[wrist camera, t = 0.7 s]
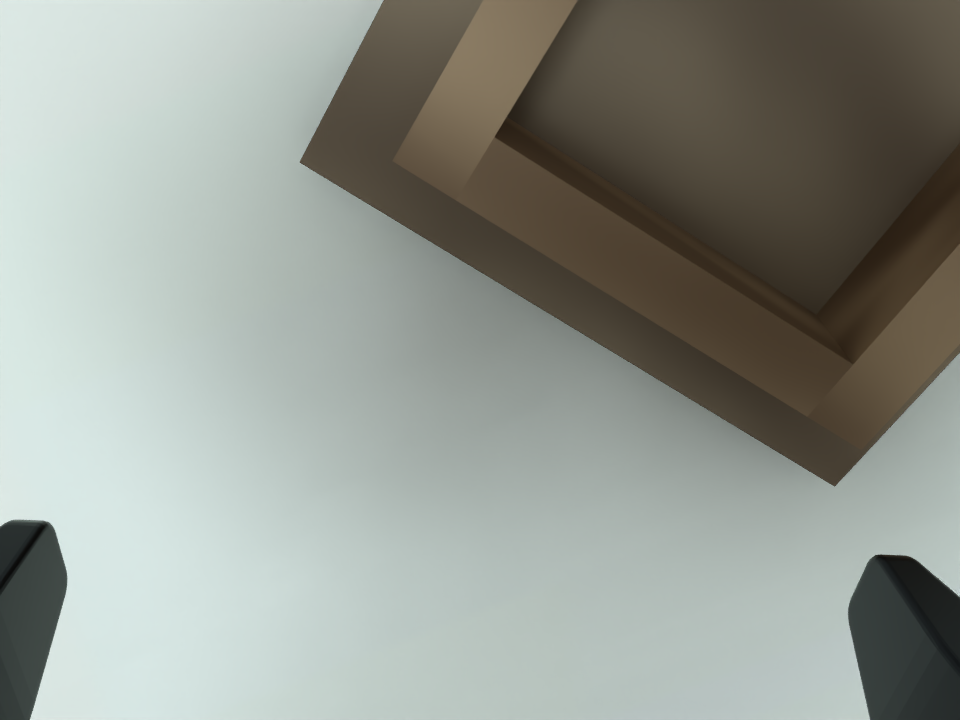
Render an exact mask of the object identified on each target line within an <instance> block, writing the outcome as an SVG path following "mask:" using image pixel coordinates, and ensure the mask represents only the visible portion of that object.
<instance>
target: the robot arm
mask: <svg viewBox="0 0 960 720" xmlns="http://www.w3.org/2000/svg"><path fill="white" fill-rule="evenodd" d="M66 589H67V571H66V567H65V564H64V560H63V557H62V553H61V550H60V546H59V543H58V539H57V536H56V533H55V530H54V528H53V526H52V525H51V524H50V523H49V522H46V521H37V520H11V521H9V522H7V523H5V524H3V525H2V526H0V720H30V717H31V714H32V711H33V708H34V705H35V701H36V697H37V694H38V690H39V687H40V683H41V680H42V676H43V673H44V669H45V665H46V662H47V658H48V655H49V651H50V648H51V644H52V641H53V637H54V634H55V630H56V626H57V623H58V619H59V616H60V612H61V609H62V605H63V602H64V598H65V594H66ZM848 619H849V626H850V630H851V635H852V639H853V644H854V648H855V653H856V658H857V662H858V667H859V671H860V676H861V680H862V685H863V689H864V694H865V698H866V703H867V707H868V712H869V717H870V720H960V597H959V596H958V595H957V594H956V593H954V592H953V591H952V590H951V589H950V588H949V587H947V586H946V585H945V584H944V583H943V582H942V581H940V580H939V579H938V578H937V577H936V576H934V575H933V574H932V573H931V572H930V571H929V570H927V569H926V568H925V567H924V566H923V565H922V564H920V563H919V562H918V561H917V560H915V559H913V558H912V557H909V556H901V555H875V556H874V557H872V558H871V559H870V560H869V562H868V563H867V565H866V568H865V570H864V572H863V574H862V576H861V578H860V581H859V583H858V585H857V587H856V589H855V591H854V593H853V596H852V598H851V600H850V603H849V608H848Z"/></svg>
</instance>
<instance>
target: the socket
mask: <svg viewBox="0 0 960 720" xmlns="http://www.w3.org/2000/svg"><path fill="white" fill-rule="evenodd" d="M300 163H301V164H303V165H305V166H306V167H308V168H310V169H311V170H313V171H315V172H316V173H318V174H319V175H321V176H323V177H324V178H326V179H328V180H329V181H331V182H333V183H334V184H336V185H338V186H339V187H341V188H343V189H344V190H346V191H348V192H349V193H351V194H353V195H354V196H356V197H357V198H359V199H361V200H362V201H364V202H366V203H367V204H369V205H371V206H372V207H374V208H376V209H377V210H379V211H381V212H382V213H384V214H386V215H387V216H389V217H391V218H392V219H394V220H395V221H397V222H399V223H400V224H402V225H404V226H405V227H407V228H409V229H410V230H412V231H414V232H415V233H417V234H419V235H420V236H422V237H424V238H425V239H427V240H428V241H430V242H432V243H433V244H435V245H437V246H438V247H440V248H442V249H443V250H445V251H447V252H448V253H450V254H452V255H453V256H455V257H457V258H458V259H460V260H462V261H463V262H465V263H466V264H468V265H470V266H471V267H473V268H475V269H476V270H478V271H480V272H481V273H483V274H485V275H486V276H488V277H490V278H491V279H493V280H495V281H496V282H498V283H499V284H501V285H503V286H504V287H506V288H508V289H509V290H511V291H513V292H514V293H516V294H518V295H519V296H521V297H523V298H524V299H526V300H528V301H529V302H531V303H533V304H534V305H536V306H537V307H539V308H541V309H542V310H544V311H546V312H547V313H549V314H551V315H552V316H554V317H556V318H557V319H559V320H561V321H562V322H564V323H566V324H567V325H569V326H570V327H572V328H574V329H575V330H577V331H579V332H580V333H582V334H584V335H585V336H587V337H589V338H590V339H592V340H594V341H595V342H597V343H599V344H600V345H602V346H604V347H605V348H607V349H608V350H610V351H612V352H613V353H615V354H617V355H618V356H620V357H622V358H623V359H625V360H627V361H628V362H630V363H632V364H633V365H635V366H637V367H638V368H640V369H642V370H643V371H645V372H646V373H648V374H650V375H651V376H653V377H655V378H656V379H658V380H660V381H661V382H663V383H665V384H666V385H668V386H670V387H671V388H673V389H675V390H676V391H678V392H679V393H681V394H683V395H684V396H686V397H688V398H689V399H691V400H693V401H694V402H696V403H698V404H699V405H701V406H703V407H704V408H706V409H708V410H709V411H711V412H713V413H714V414H716V415H717V416H719V417H721V418H722V419H724V420H726V421H727V422H729V423H731V424H732V425H734V426H736V427H737V428H739V429H741V430H742V431H744V432H746V433H747V434H749V435H750V436H752V437H754V438H755V439H757V440H759V441H760V442H762V443H764V444H765V445H767V446H769V447H770V448H772V449H774V450H775V451H777V452H779V453H780V454H782V455H784V456H785V457H787V458H788V459H790V460H792V461H793V462H795V463H797V464H798V465H800V466H802V467H803V468H805V469H807V470H808V471H810V472H812V473H813V474H815V475H817V476H818V477H820V478H821V479H823V480H825V481H826V482H828V483H830V484H831V485H833V486H836V485H837V484H838V482H839V481H840V480H841V479H842V478H843V477H844V476H845V475H846V474H847V473H848V472H849V471H850V470H851V469H852V467H853V466H854V465H855V464H856V463H857V462H858V461H859V460H860V459H861V458H862V457H863V456H864V455H865V454H866V452H867V451H868V450H869V449H870V448H871V447H872V446H873V445H874V444H875V443H876V442H877V441H878V440H879V439H880V437H881V436H882V435H883V434H884V433H885V432H886V431H887V430H888V429H889V428H890V427H891V426H892V425H893V423H894V422H895V421H896V420H897V419H898V418H899V417H900V416H901V415H902V414H903V413H904V412H905V411H906V410H907V408H908V407H909V406H910V405H911V404H912V403H913V402H914V401H915V400H916V399H917V398H918V397H919V396H920V395H921V393H922V392H923V391H924V390H925V389H926V388H927V387H928V386H929V385H930V384H931V383H932V382H933V381H934V380H935V378H936V377H937V376H938V375H939V374H940V373H941V372H942V371H943V370H944V369H945V368H946V367H947V366H948V365H949V363H950V362H951V361H952V360H953V359H954V358H955V357H956V356H957V355H958V354H959V353H960V0H384V1H383V3H382V5H381V7H380V9H379V11H378V13H377V14H376V16H375V18H374V20H373V22H372V24H371V26H370V28H369V30H368V32H367V34H366V36H365V37H364V39H363V41H362V43H361V45H360V47H359V49H358V51H357V53H356V55H355V57H354V59H353V61H352V62H351V64H350V66H349V68H348V70H347V72H346V74H345V76H344V78H343V80H342V82H341V84H340V85H339V87H338V89H337V91H336V93H335V95H334V97H333V99H332V101H331V103H330V105H329V107H328V109H327V110H326V112H325V114H324V116H323V118H322V120H321V122H320V124H319V126H318V128H317V130H316V132H315V134H314V135H313V137H312V139H311V141H310V143H309V145H308V147H307V149H306V151H305V153H304V155H303V157H302V158H301V160H300Z"/></svg>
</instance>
